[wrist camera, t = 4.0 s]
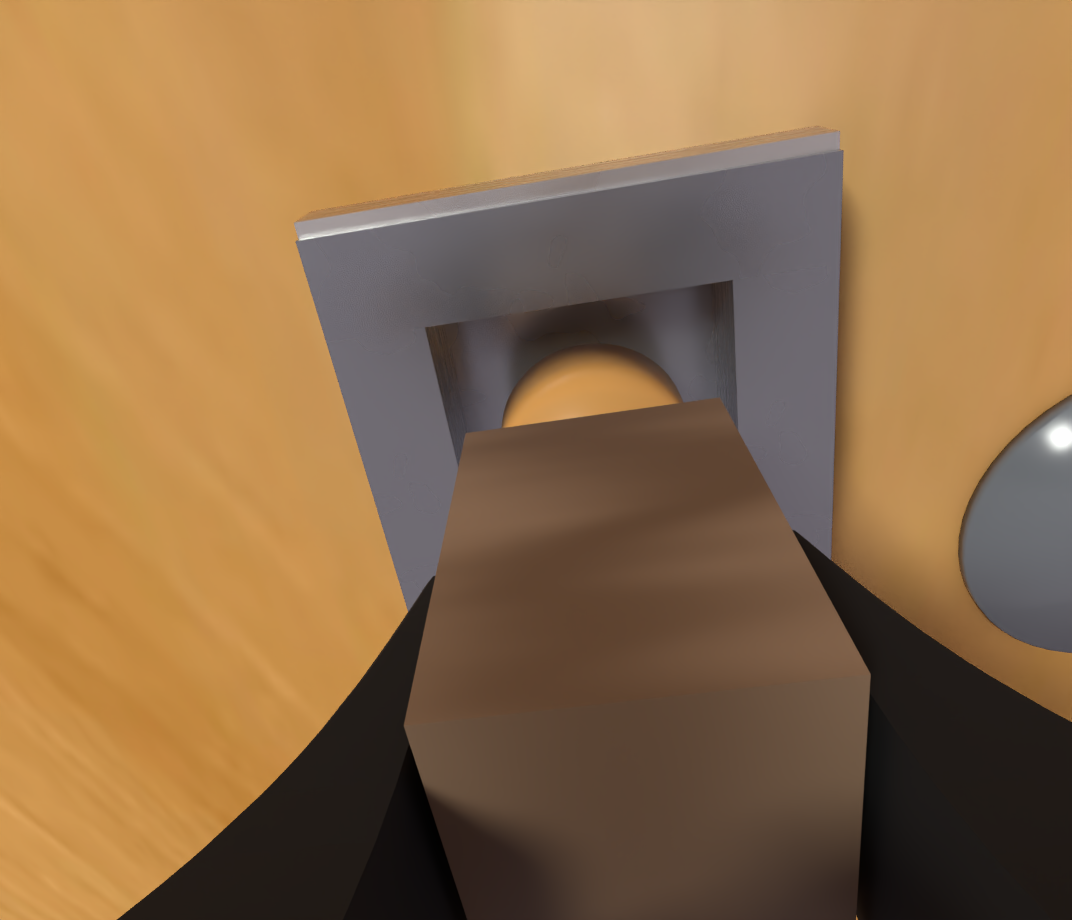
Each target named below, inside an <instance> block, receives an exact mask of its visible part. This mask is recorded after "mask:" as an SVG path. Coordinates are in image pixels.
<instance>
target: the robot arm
mask: <svg viewBox="0 0 1072 920" xmlns="http://www.w3.org/2000/svg"><path fill="white" fill-rule="evenodd" d="M792 531H793V532H794V534H795V536H796V538H797V540H798V542H799V544H800V545H801V547H802V549H803V551H804V553H805V555H806V556H807V558H808V560H809V562H810V564H811V566H812V567H813V569H814V571H815V573H816V575H817V577H818V578H819V580H820V582H821V584H822V586H823V588H824V589H825V591H826V593H827V595H828V597H829V599H830V600H831V602H832V604H833V606H834V608H835V610H836V611H837V613H838V615H839V617H840V619H841V621H842V622H843V624H844V626H845V628H846V630H847V632H848V633H849V635H850V637H851V639H852V641H853V643H854V644H855V646H856V648H857V650H858V652H859V654H860V655H861V657H862V659H863V661H864V663H865V665H866V667H867V668H868V670H869V672H870V674H871V678H870V694H869V711H868V728H867V744H866V761H865V777H864V794H863V810H862V827H861V844H860V860H859V877H858V893H857V910H856V915H857V918H858V920H1072V722H1070V721H1068V720H1066V719H1065V718H1063V717H1061V716H1059V715H1057V714H1055V713H1053V712H1051V711H1050V710H1048V709H1046V708H1044V707H1042V706H1041V705H1039V704H1037V703H1036V702H1034V701H1032V700H1030V699H1029V698H1027V697H1025V696H1023V695H1022V694H1020V693H1018V692H1017V691H1015V690H1013V689H1011V688H1010V687H1008V686H1006V685H1005V684H1003V683H1001V682H999V681H998V680H996V679H994V678H992V677H991V676H989V675H988V674H986V673H984V672H983V671H981V670H980V669H978V668H976V667H975V666H973V665H972V664H970V663H968V662H967V661H965V660H964V659H962V658H961V657H959V656H958V655H956V654H955V653H953V652H952V651H950V650H949V649H947V648H946V647H945V646H943V645H942V644H940V643H939V642H937V641H936V640H934V639H933V638H931V637H930V636H928V635H927V634H925V633H924V632H922V631H921V630H920V629H918V628H917V627H916V626H914V625H913V624H911V623H910V622H909V621H907V620H906V619H905V618H903V617H902V616H901V615H899V614H898V613H897V612H896V611H894V610H893V609H892V608H890V607H889V606H888V605H886V604H885V603H884V602H882V601H881V600H880V599H878V598H877V597H876V596H874V595H873V594H872V593H871V592H869V591H868V590H867V589H866V588H864V587H863V586H862V585H861V584H859V583H858V582H857V581H856V580H854V579H853V578H852V577H851V576H850V575H848V574H847V573H846V572H845V571H844V570H842V569H841V568H840V567H839V566H837V565H836V564H835V563H834V562H833V561H831V560H830V559H829V558H828V557H827V556H826V555H824V554H823V553H822V552H821V551H820V550H818V549H817V548H816V547H815V546H814V545H812V544H811V543H810V542H809V541H808V540H806V539H805V538H804V537H803V536H801V535H800V534H799V533H798V532H796V531H795V530H792ZM434 580H435V576H433V577H432V578H431V579H430V581H429V582H428V583H427V584H426V586H425V587H424V589H423V590H422V592H421V593H420V595H419V596H418V598H417V599H416V601H415V602H414V604H413V606H412V607H411V609H410V610H409V612H408V613H407V615H406V616H405V618H404V619H403V621H402V622H401V624H400V625H399V627H398V628H397V630H396V631H395V633H394V634H393V635H392V637H391V638H390V640H389V641H388V643H387V644H386V646H385V647H384V648H383V650H382V651H381V653H380V654H379V655H378V657H377V658H376V660H375V661H374V662H373V664H372V665H371V667H370V668H369V669H368V671H367V672H366V674H365V675H364V676H363V678H362V679H361V680H360V682H359V683H358V684H357V686H356V687H355V688H354V689H353V691H352V692H351V693H350V695H349V696H348V697H347V698H346V700H345V701H344V702H343V703H342V705H341V706H340V707H339V708H338V710H337V711H336V712H335V713H334V715H333V716H332V717H331V718H330V720H329V721H328V722H327V723H326V725H325V726H324V727H323V728H322V730H321V731H320V732H319V733H318V734H317V735H316V737H315V738H314V739H313V740H312V741H311V742H310V743H309V745H308V746H307V747H306V748H305V749H304V750H303V751H302V753H301V754H300V755H299V756H298V757H297V758H296V759H295V760H294V761H293V762H292V763H291V765H290V766H289V767H288V768H287V769H286V770H285V771H284V772H283V773H282V774H281V775H280V776H279V777H278V778H277V779H276V780H275V781H274V782H273V783H272V784H271V785H270V786H269V787H268V788H267V789H266V790H265V791H264V792H263V793H262V794H261V795H260V796H259V797H258V798H257V799H256V800H255V801H254V802H253V803H252V804H251V805H250V806H249V807H248V808H247V809H245V810H244V811H243V812H242V813H241V814H240V815H239V816H238V817H237V818H236V819H235V820H234V821H233V822H231V823H230V824H229V825H228V826H227V827H226V828H225V829H224V830H223V831H222V832H221V833H220V834H219V835H217V836H216V837H215V838H214V839H213V840H212V841H211V842H210V843H209V844H208V845H207V846H206V847H205V848H203V849H202V850H201V851H200V852H199V853H198V854H197V855H196V856H194V857H193V858H192V859H191V860H190V861H189V862H187V863H186V864H185V865H184V866H183V867H181V868H180V869H179V870H178V871H177V872H175V873H174V874H173V875H172V876H171V877H169V878H168V879H167V880H166V881H165V882H164V883H162V884H161V885H160V886H159V887H157V888H156V889H155V890H154V891H152V892H151V893H150V894H149V895H147V896H146V897H145V898H144V899H142V900H141V901H140V902H139V903H137V904H136V905H135V906H134V907H132V908H131V909H130V910H129V911H127V912H126V913H125V914H124V915H122V916H121V917H120V918H118V919H117V920H467V917H466V914H465V911H464V908H463V905H462V902H461V899H460V896H459V893H458V890H457V887H456V884H455V881H454V878H453V875H452V872H451V869H450V866H449V863H448V859H447V856H446V853H445V850H444V847H443V844H442V841H441V838H440V835H439V832H438V829H437V826H436V823H435V820H434V817H433V814H432V811H431V808H430V805H429V802H428V798H427V795H426V792H425V789H424V786H423V783H422V780H421V777H420V774H419V771H418V768H417V765H416V762H415V759H414V756H413V753H412V750H411V747H410V744H409V741H408V737H407V734H406V731H405V728H404V722H405V717H406V713H407V708H408V703H409V698H410V694H411V689H412V684H413V680H414V675H415V670H416V665H417V661H418V656H419V651H420V646H421V642H422V637H423V632H424V628H425V623H426V618H427V613H428V609H429V604H430V599H431V595H432V590H433V585H434Z"/></svg>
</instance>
